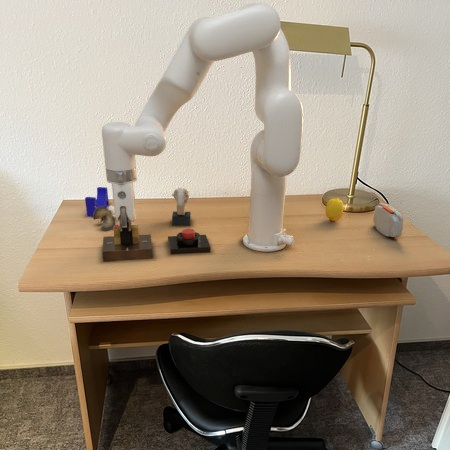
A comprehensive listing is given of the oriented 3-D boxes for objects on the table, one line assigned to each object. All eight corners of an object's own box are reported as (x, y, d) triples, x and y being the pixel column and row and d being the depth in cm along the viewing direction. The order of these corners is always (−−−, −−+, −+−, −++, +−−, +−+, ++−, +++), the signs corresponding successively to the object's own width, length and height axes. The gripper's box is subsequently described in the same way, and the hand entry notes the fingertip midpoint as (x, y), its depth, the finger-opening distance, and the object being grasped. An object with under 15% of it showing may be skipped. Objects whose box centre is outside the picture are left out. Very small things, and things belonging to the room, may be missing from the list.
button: (194, 234, 139) (194, 228, 138) (195, 239, 136) (195, 233, 135) (181, 234, 139) (181, 228, 138) (182, 239, 135) (182, 233, 135)
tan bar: (139, 240, 135) (138, 223, 132) (139, 243, 133) (138, 227, 130) (115, 241, 134) (113, 224, 132) (114, 244, 132) (113, 228, 130)
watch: (190, 218, 158) (190, 185, 153) (190, 228, 151) (189, 193, 146) (173, 218, 158) (172, 185, 152) (171, 228, 151) (170, 193, 145)
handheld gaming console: (400, 241, 145) (406, 216, 141) (391, 242, 145) (397, 216, 141) (378, 223, 158) (382, 199, 154) (369, 224, 157) (373, 200, 153)
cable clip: (100, 217, 158) (98, 199, 155) (87, 216, 158) (84, 198, 155) (113, 204, 168) (111, 187, 165) (100, 204, 168) (98, 186, 165)
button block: (205, 239, 144) (205, 228, 142) (210, 252, 136) (210, 240, 134) (168, 241, 142) (167, 230, 140) (170, 254, 134) (170, 243, 132)
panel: (151, 243, 140) (150, 233, 139) (152, 259, 131) (152, 248, 130) (104, 246, 138) (103, 235, 137) (103, 262, 129) (101, 251, 128)
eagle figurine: (88, 217, 154) (87, 222, 146) (99, 197, 153) (98, 201, 144) (110, 229, 157) (110, 235, 148) (121, 209, 155) (121, 214, 147)
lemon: (336, 217, 162) (339, 193, 158) (344, 223, 157) (348, 199, 153) (321, 219, 160) (324, 195, 156) (329, 225, 156) (332, 200, 152)
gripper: (135, 183, 118) (140, 253, 127) (137, 165, 131) (141, 230, 141) (103, 184, 117) (111, 254, 126) (108, 166, 130) (114, 231, 140)
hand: (127, 241), depth 133 cm, fingers closed on tan bar, 2 cm apart
